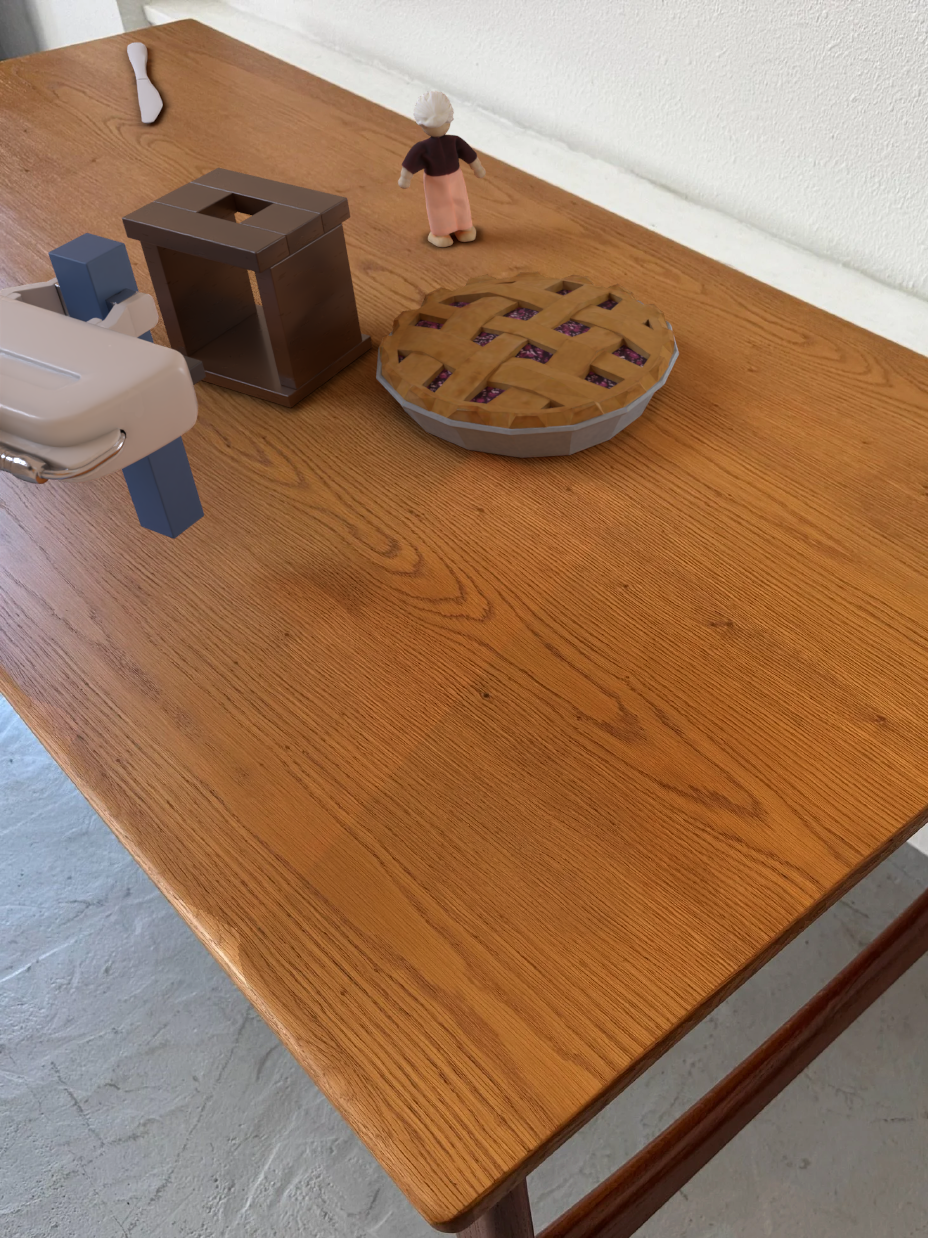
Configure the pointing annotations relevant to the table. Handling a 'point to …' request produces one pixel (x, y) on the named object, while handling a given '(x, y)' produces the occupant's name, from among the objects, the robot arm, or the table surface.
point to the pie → (527, 363)
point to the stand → (285, 273)
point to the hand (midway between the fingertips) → (116, 295)
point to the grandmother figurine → (442, 171)
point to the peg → (105, 270)
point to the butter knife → (144, 83)
